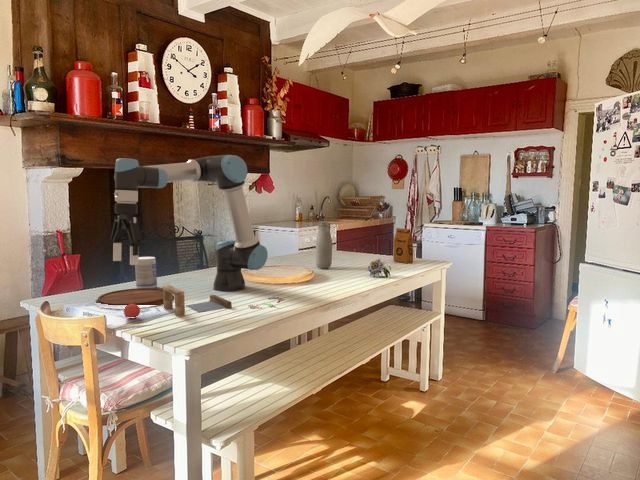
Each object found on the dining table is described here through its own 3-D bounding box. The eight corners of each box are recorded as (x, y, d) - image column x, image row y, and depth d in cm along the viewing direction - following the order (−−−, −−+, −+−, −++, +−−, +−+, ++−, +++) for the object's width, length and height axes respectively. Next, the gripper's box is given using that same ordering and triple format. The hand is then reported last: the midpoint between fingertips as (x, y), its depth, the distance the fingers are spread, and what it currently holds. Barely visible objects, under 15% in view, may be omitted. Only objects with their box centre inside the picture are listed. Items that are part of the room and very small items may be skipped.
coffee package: (405, 264, 306) (406, 229, 304) (391, 261, 316) (391, 228, 313) (415, 262, 313) (416, 228, 310) (401, 260, 322) (401, 227, 320)
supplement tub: (158, 288, 233) (157, 258, 231) (137, 290, 229) (136, 259, 227) (155, 285, 241) (154, 255, 240) (135, 286, 237) (134, 257, 236)
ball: (137, 315, 185) (137, 301, 185) (142, 319, 181) (141, 304, 180) (122, 318, 182) (121, 303, 181) (126, 321, 178) (126, 306, 177)
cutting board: (181, 304, 205) (181, 298, 204) (99, 314, 189) (98, 308, 189) (165, 290, 232) (165, 285, 232) (91, 297, 216) (91, 292, 216)
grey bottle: (315, 270, 285) (316, 222, 281) (315, 267, 295) (315, 221, 291) (332, 270, 285) (333, 222, 282) (331, 267, 295) (332, 221, 292)
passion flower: (373, 287, 264) (361, 268, 266) (382, 280, 273) (370, 262, 274) (387, 277, 257) (375, 259, 259) (396, 271, 266) (384, 253, 267)
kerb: (214, 300, 210) (214, 294, 210) (231, 307, 198) (231, 301, 197) (210, 301, 209) (209, 295, 209) (227, 308, 196) (226, 302, 196)
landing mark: (214, 301, 209) (214, 300, 209) (228, 307, 199) (228, 306, 199) (185, 305, 201) (185, 305, 201) (198, 312, 191) (198, 311, 191)
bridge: (170, 307, 198) (170, 285, 197) (184, 315, 186) (184, 291, 185) (163, 308, 196) (162, 286, 195) (177, 316, 185) (176, 292, 184)
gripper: (101, 201, 177) (100, 259, 178) (131, 203, 160) (130, 267, 161) (121, 202, 182) (120, 258, 184) (153, 203, 165) (152, 266, 166)
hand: (125, 262), depth 172 cm, fingers open, 13 cm apart
